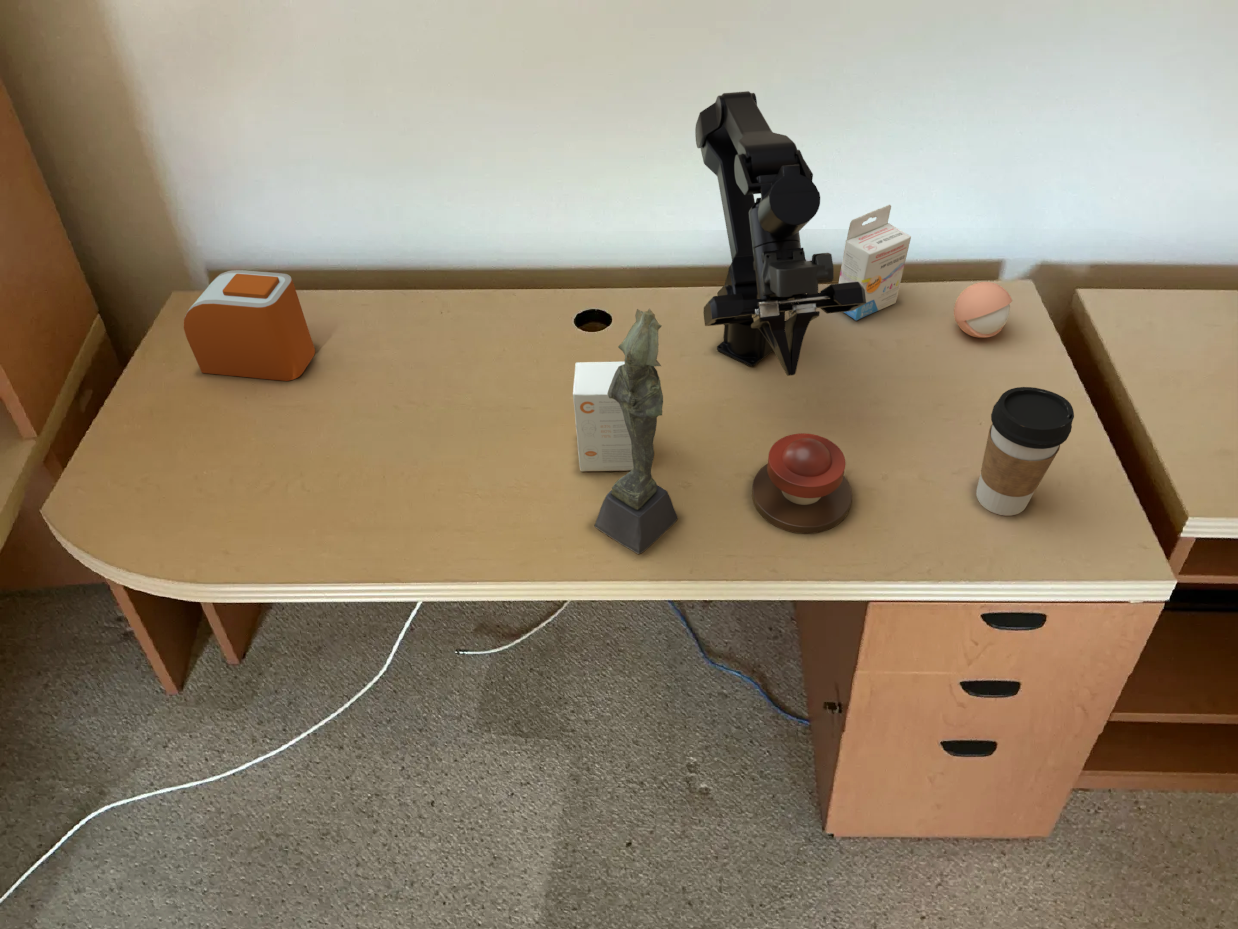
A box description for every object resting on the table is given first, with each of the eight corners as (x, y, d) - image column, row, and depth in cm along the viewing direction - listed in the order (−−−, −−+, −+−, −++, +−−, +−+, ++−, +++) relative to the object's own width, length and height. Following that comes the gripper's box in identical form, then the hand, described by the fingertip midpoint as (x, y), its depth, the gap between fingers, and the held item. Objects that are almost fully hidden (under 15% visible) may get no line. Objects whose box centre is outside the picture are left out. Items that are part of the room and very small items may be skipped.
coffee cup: (1027, 534, 110) (1066, 441, 99) (955, 506, 113) (987, 414, 103) (1045, 489, 115) (1085, 396, 104) (977, 464, 118) (1008, 372, 108)
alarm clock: (320, 346, 139) (296, 268, 130) (297, 382, 133) (269, 303, 124) (228, 337, 141) (197, 260, 132) (201, 373, 136) (166, 295, 126)
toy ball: (977, 355, 134) (991, 309, 128) (936, 328, 138) (948, 283, 133) (1015, 335, 137) (1031, 289, 131) (974, 309, 141) (987, 264, 136)
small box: (642, 437, 123) (641, 359, 114) (642, 471, 119) (641, 393, 110) (580, 438, 124) (574, 360, 114) (578, 472, 119) (572, 394, 110)
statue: (593, 527, 113) (578, 324, 91) (633, 491, 117) (627, 288, 95) (639, 556, 109) (635, 352, 88) (679, 518, 113) (684, 314, 92)
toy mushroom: (732, 502, 115) (736, 450, 109) (786, 448, 121) (793, 397, 115) (816, 549, 109) (826, 498, 103) (869, 491, 115) (881, 439, 109)
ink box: (856, 322, 140) (872, 235, 129) (833, 306, 143) (847, 220, 132) (897, 303, 143) (916, 216, 132) (874, 287, 146) (891, 202, 135)
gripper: (712, 237, 105) (728, 376, 105) (874, 221, 106) (890, 359, 106) (696, 259, 116) (710, 385, 116) (843, 245, 117) (857, 369, 117)
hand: (791, 375), depth 113 cm, fingers closed
